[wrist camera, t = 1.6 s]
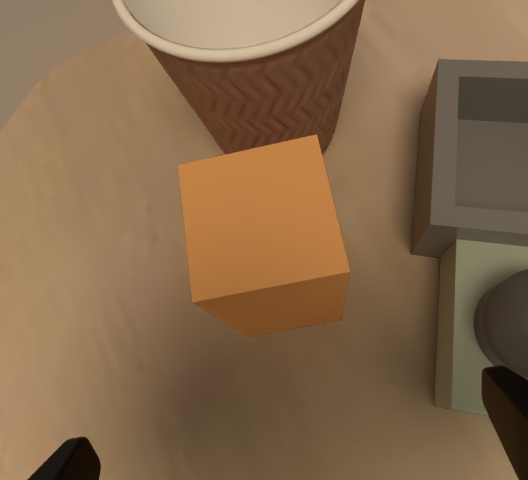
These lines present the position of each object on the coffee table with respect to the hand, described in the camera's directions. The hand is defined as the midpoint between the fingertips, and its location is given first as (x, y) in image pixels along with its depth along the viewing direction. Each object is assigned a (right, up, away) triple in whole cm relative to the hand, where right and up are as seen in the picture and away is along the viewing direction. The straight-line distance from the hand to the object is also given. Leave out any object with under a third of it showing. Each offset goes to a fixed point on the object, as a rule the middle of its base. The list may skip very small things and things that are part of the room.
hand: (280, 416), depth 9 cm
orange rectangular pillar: (+1, +2, +14) cm, 14 cm away
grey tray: (+12, +3, +13) cm, 18 cm away
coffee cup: (+1, +11, +17) cm, 20 cm away
